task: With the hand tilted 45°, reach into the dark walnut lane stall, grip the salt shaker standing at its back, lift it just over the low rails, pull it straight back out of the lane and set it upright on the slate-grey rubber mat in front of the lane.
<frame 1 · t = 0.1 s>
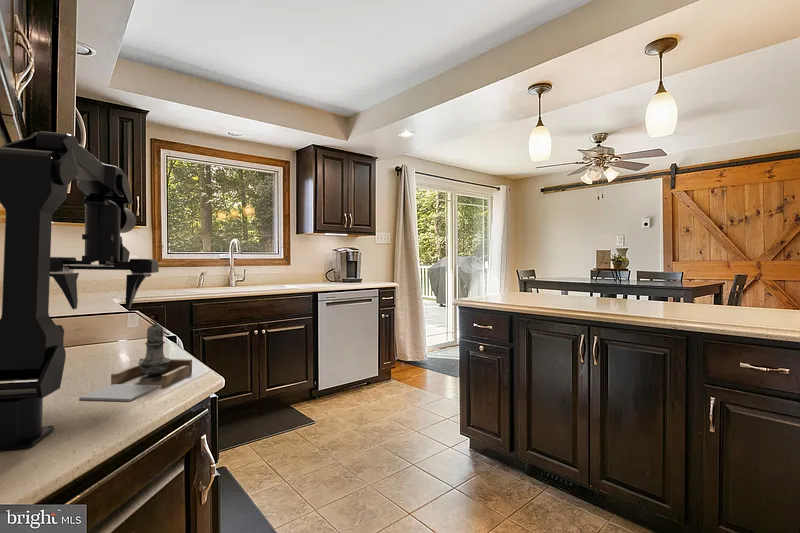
hand: (101, 308, 83), 15 cm above the table, tool pointing down, fingers open, 9 cm apart
slate mat: (120, 393, 76), on the table
salt shaker: (154, 379, 86), on the table
walnut lane stall: (153, 378, 86), on the table
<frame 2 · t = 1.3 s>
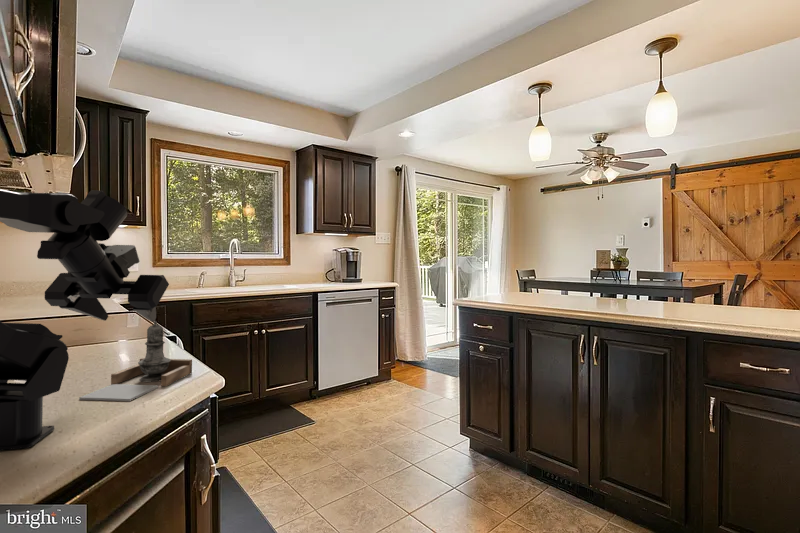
hand: (130, 319, 78), 13 cm above the table, tool tilted 45°, fingers open, 9 cm apart
nothing on the table moved.
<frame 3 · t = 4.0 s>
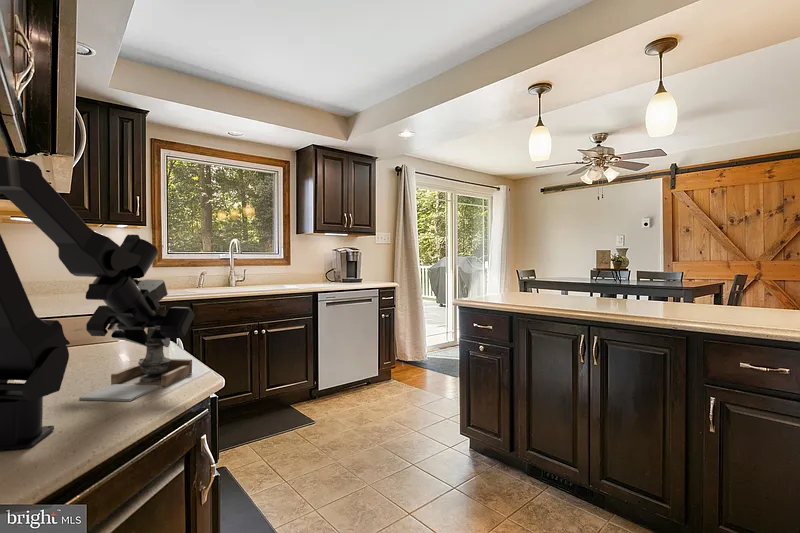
hand: (159, 345, 87), 7 cm above the table, tool tilted 45°, fingers closed on salt shaker, 4 cm apart
salt shaker: (154, 379, 86), on the table, touching gripper
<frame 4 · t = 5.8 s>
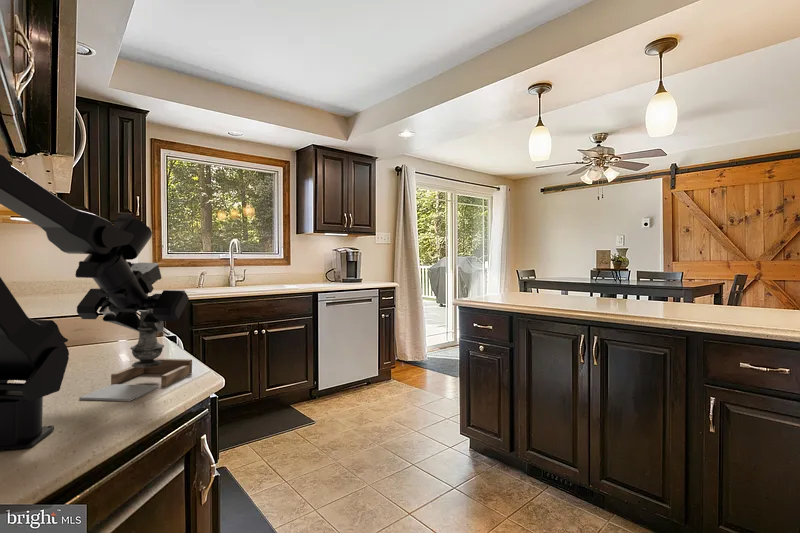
hand: (152, 330, 85), 10 cm above the table, tool tilted 45°, fingers closed on salt shaker, 4 cm apart
salt shaker: (147, 365, 84), point 3 cm above the table, touching gripper
when the fingers open (8 cm above the table, at t = 7.9 s): salt shaker stays where it is, resting on slate mat.
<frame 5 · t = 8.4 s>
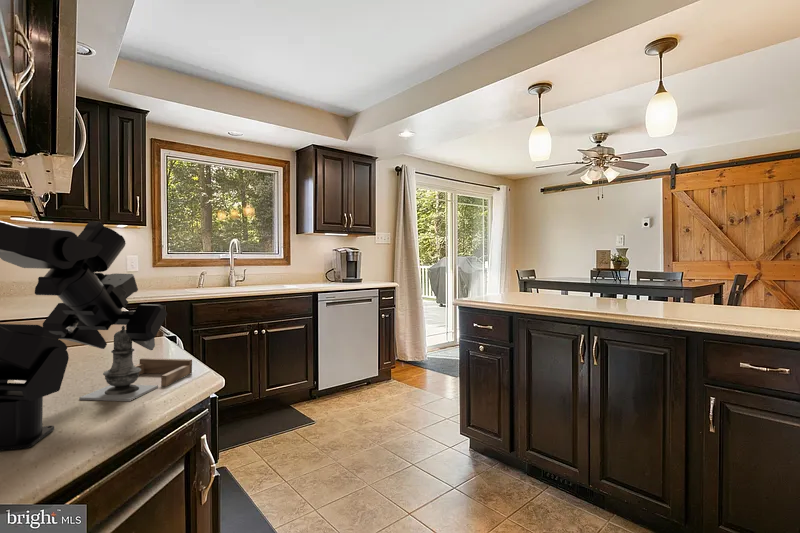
hand: (128, 347, 78), 8 cm above the table, tool tilted 45°, fingers open, 9 cm apart
salt shaker: (122, 391, 76), resting on slate mat
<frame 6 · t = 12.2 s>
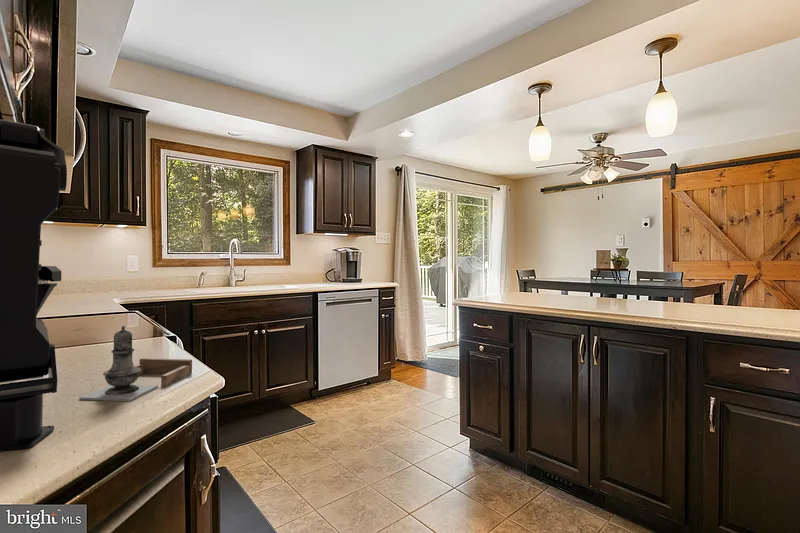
hand: (11, 328, 68), 13 cm above the table, tool pointing down, fingers open, 9 cm apart
nothing on the table moved.
at the end: salt shaker inside the target area on the slate mat (0.3 cm from its centre), point 0.2 cm above the slate mat's base; salt shaker tilted 0°; the gripper is holding nothing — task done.
